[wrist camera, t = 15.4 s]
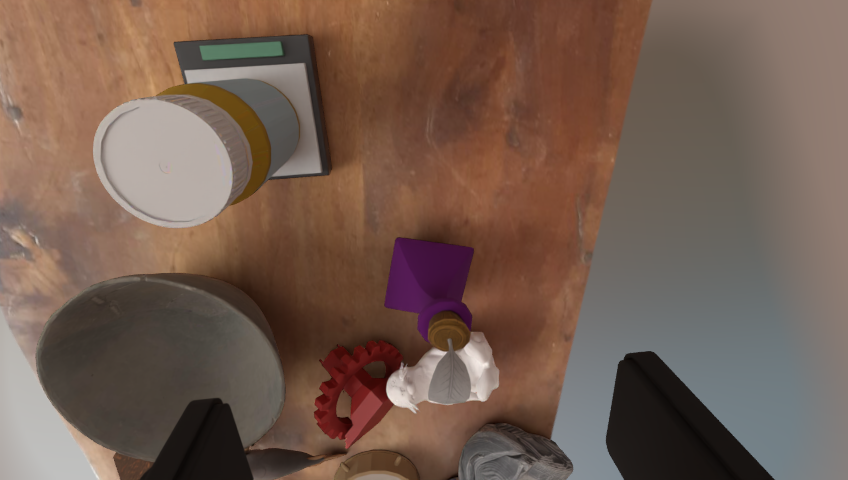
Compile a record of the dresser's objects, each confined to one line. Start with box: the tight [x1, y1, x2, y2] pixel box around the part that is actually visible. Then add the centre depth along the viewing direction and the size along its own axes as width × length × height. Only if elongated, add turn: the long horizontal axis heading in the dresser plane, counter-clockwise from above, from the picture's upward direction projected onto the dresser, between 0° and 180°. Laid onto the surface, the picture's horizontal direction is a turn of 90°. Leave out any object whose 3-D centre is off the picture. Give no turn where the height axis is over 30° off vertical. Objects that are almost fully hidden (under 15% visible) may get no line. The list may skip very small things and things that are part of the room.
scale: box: [174, 34, 332, 180], centre depth 34 cm, size 11×10×3 cm
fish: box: [244, 447, 346, 480], centre depth 43 cm, size 4×21×5 cm
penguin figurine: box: [386, 332, 499, 414], centre depth 42 cm, size 6×8×12 cm
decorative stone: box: [458, 423, 573, 480], centre depth 51 cm, size 15×14×10 cm
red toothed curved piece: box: [314, 340, 404, 449], centre depth 44 cm, size 11×12×8 cm
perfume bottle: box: [384, 237, 474, 404], centre depth 34 cm, size 8×8×18 cm
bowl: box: [36, 273, 286, 462], centre depth 37 cm, size 19×19×10 cm
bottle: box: [93, 78, 300, 228], centre depth 26 cm, size 7×7×15 cm
